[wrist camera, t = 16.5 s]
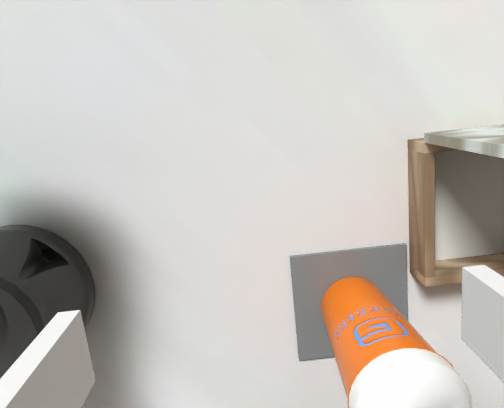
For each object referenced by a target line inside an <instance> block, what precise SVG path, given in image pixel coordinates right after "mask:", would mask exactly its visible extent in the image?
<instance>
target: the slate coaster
mask: <svg viewBox="0 0 504 408" xmlns="http://www.w3.org/2000/svg"><path fill="white" fill-rule="evenodd" d="M290 265H291V277H292V288H293V299H294V311H295V322H296V334H297V345H298V356H299V361H300V360H309V359H318V358H327V357H335V355H334V352H333V349H332V345H331V342H330V339H329V336H328V332H327V329H326V326H325V323H324V319H323V316H322V312H321V302H322V298H323V296H324V294H325V292H326V291H327V289H328V288H329V287H330V286H331V285H332V284H333V283H335V282H337V281H338V280H341V279H343V278H347V277H360V278H364V279H367V280H369V281H370V282H372V283H373V284H374V285H375V286H376V287H377V288H378V289H379V290H380V291H381V292H382V293H383V295H384V296H385V297H386V298H387V299H388V300H389V301H390V302H391V303H392V304H393V305H394V307H395V308H396V309H397V310H398V311H399V312H400V313H401V314H402V315H403V316H404V318H405V319H406V320H407V321H408V304H407V248H406V244H405V243H403V244H394V245H385V246H376V247H367V248H358V249H349V250H340V251H331V252H322V253H313V254H304V255H295V256H290Z"/></svg>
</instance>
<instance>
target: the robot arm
mask: <svg viewBox="0 0 504 408" xmlns="http://www.w3.org/2000/svg"><path fill="white" fill-rule="evenodd" d="M94 302H95V287H94V282H93V278H92V275H91V272H90V270H89V268H88V266H87V264H86V262H85V261H84V259H83V258H82V256H81V255H80V254H79V253H78V252H77V251H76V249H75V248H74V247H72V246H71V245H70V244H69V243H68V242H67V241H65V240H64V239H62V238H61V237H59V236H57V235H56V234H54V233H52V232H49V231H47V230H44V229H41V228H38V227H33V226H27V225H8V226H2V227H0V408H82V406H83V404H84V402H85V401H86V399H87V397H88V395H89V393H90V391H91V389H92V387H93V385H94V383H95V381H96V379H95V374H94V370H93V365H92V361H91V356H90V351H89V347H88V342H87V338H86V333H85V329H84V327H85V325H86V324H87V322H88V320H89V319H90V316H91V314H92V311H93V307H94ZM461 339H462V340H463V341H464V342H465V343H466V344H467V345H468V346H469V347H470V348H471V349H472V350H473V352H474V353H475V354H476V355H477V356H478V357H479V358H480V359H481V360H482V361H483V362H484V363H485V364H486V365H487V366H488V367H489V368H490V369H491V370H492V371H493V372H494V373H495V374H496V375H497V377H498V378H499V379H500V380H501V381H502V382H503V383H504V277H503V276H501V275H500V274H498V273H497V272H495V271H493V270H492V269H490V268H489V267H487V266H486V265H477V266H468V267H462V325H461Z"/></svg>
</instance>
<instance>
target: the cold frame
mask: <svg viewBox="0 0 504 408" xmlns="http://www.w3.org/2000/svg"><path fill="white" fill-rule="evenodd" d="M452 150H464V151H469V152H474V153H479V154H484V155H489V156H494V157H499V158H504V125H495V126H486V127H477V128H468V129H459V130H449V131H440V132H431V133H424V138H420V139H411V140H408V184H409V246H410V272H411V273H412V274H413V275H414V276H415V277H416V278H417V279H418V280H419V281H420V282H421V283H422V284H423V285H424V286H425V287H428V286H437V285H446V284H455V283H462V267H468V266H477V265H486V266H487V267H489V268H490V269H492V270H493V271H495V272H497V273H498V274H500V275H501V276H503V277H504V253H501V254H492V255H483V256H474V257H465V258H456V259H447V260H438V261H435V152H443V151H452Z"/></svg>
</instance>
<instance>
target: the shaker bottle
mask: <svg viewBox="0 0 504 408" xmlns="http://www.w3.org/2000/svg"><path fill="white" fill-rule="evenodd" d="M321 312H322V316H323V319H324V323H325V326H326V329H327V332H328V336H329V339H330V342H331V345H332V349H333V352H334V355H335V358H336V362H337V365H338V368H339V371H340V375H341V378H342V381H343V384H344V388H345V391H346V394H347V397H348V408H472V399H471V394H470V391H469V389H468V386H467V385H466V383H465V382H464V380H463V379H462V378H461V376H460V375H459V374H458V373H457V371H456V370H455V369H454V367H453V366H452V365H451V364H450V363H449V362H448V361H447V360H446V359H445V358H444V357H442V356H441V355H439V354H438V353H436V352H435V351H434V349H433V348H432V347H431V346H430V345H429V344H428V343H427V342H426V341H425V340H424V338H423V337H422V336H421V335H420V334H419V333H418V332H417V331H416V330H415V329H414V327H413V326H412V325H411V324H410V323H409V322H408V321H407V320H406V319H405V318H404V316H403V315H402V314H401V313H400V312H399V311H398V310H397V309H396V308H395V307H394V305H393V304H392V303H391V302H390V301H389V300H388V299H387V298H386V297H385V296H384V295H383V293H382V292H381V291H380V290H379V289H378V288H377V287H376V286H375V285H374V284H373V283H372V282H370V281H369V280H367V279H364V278H360V277H347V278H343V279H341V280H338V281H337V282H335V283H333V284H332V285H331V286H330V287H329V288H328V289H327V291H326V292H325V294H324V296H323V298H322V302H321Z"/></svg>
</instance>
